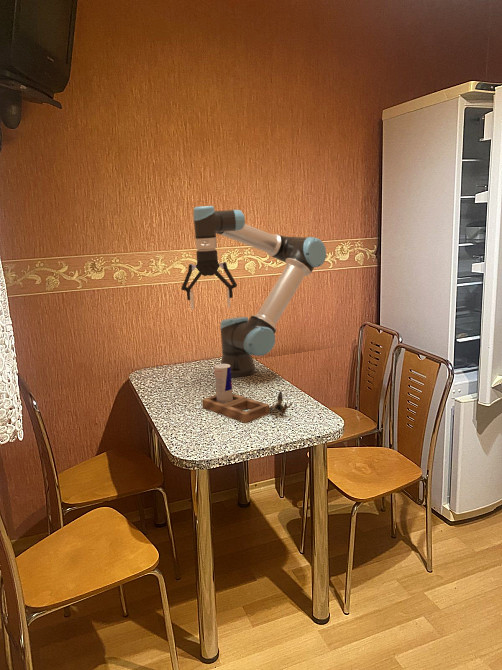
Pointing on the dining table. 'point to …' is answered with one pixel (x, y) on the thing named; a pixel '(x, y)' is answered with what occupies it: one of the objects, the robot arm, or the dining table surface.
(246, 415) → the walnut holder board
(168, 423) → the dining table surface
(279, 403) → the eagle figurine
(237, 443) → the dining table surface
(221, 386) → the beverage can
